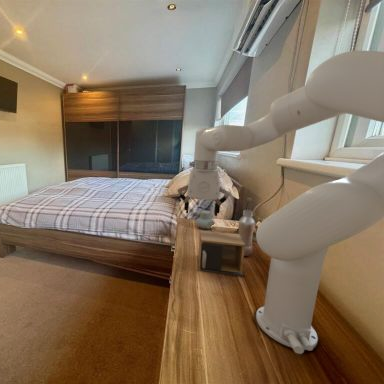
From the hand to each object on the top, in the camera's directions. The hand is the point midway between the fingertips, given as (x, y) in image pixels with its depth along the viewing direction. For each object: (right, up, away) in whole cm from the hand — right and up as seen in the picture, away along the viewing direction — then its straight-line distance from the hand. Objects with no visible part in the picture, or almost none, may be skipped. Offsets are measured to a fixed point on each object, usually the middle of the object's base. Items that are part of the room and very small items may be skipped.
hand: (201, 213), depth 72 cm
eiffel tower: (+37, -16, +37) cm, 55 cm away
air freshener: (+20, -14, +50) cm, 56 cm away
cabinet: (+11, -22, +10) cm, 26 cm away
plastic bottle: (+25, -20, +18) cm, 37 cm away
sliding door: (+5, -22, +3) cm, 23 cm away
